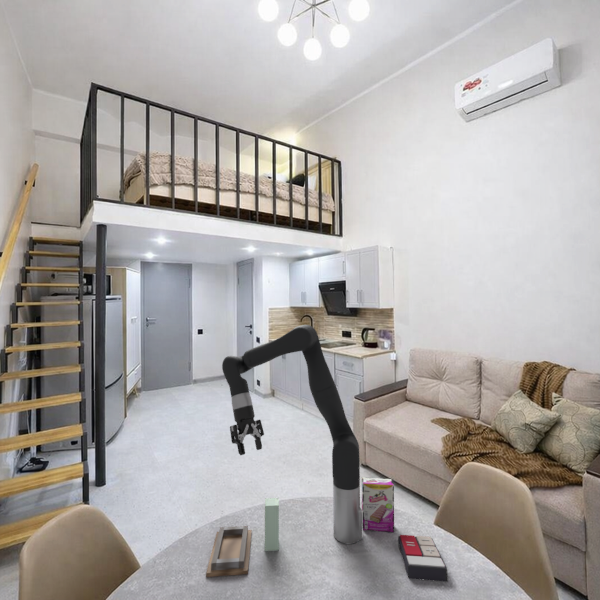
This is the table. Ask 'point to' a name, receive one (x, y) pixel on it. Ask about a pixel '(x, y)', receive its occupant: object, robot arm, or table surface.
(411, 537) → the calculator
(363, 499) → the candy bar box
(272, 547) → the pale green angular block
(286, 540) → the table surface
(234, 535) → the track
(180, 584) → the table surface
